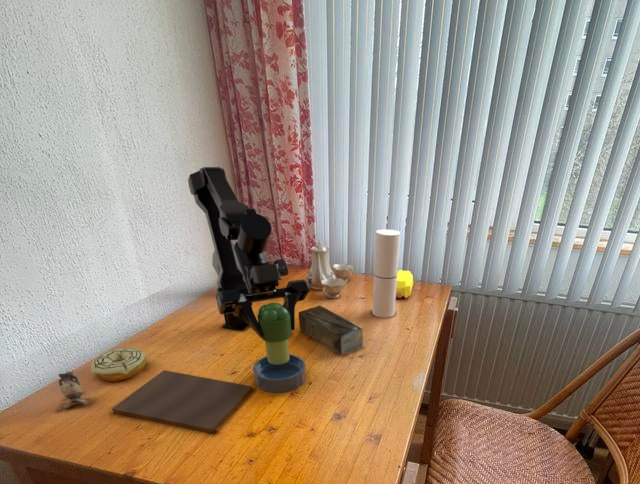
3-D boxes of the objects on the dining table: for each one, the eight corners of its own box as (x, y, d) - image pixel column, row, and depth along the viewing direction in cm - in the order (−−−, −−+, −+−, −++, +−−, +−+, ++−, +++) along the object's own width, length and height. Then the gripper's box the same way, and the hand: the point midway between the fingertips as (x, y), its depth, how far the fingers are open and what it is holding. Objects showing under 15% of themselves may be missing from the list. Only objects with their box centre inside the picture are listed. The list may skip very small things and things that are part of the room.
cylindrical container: (368, 314, 122) (371, 232, 108) (377, 306, 128) (381, 228, 114) (389, 319, 120) (395, 236, 106) (397, 311, 126) (404, 231, 112)
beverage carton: (340, 357, 99) (340, 334, 95) (298, 331, 110) (296, 309, 106) (363, 348, 104) (364, 325, 100) (320, 324, 115) (319, 303, 111)
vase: (64, 395, 80) (51, 370, 76) (95, 390, 82) (84, 366, 78) (57, 410, 76) (44, 385, 72) (90, 405, 78) (79, 380, 74)
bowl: (245, 389, 85) (243, 374, 83) (269, 364, 94) (267, 350, 92) (294, 398, 83) (292, 383, 81) (313, 372, 93) (312, 357, 90)
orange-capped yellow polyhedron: (387, 299, 134) (409, 302, 133) (388, 280, 130) (411, 283, 130) (393, 282, 149) (413, 284, 148) (395, 265, 145) (415, 267, 144)
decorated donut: (84, 383, 84) (78, 368, 82) (110, 358, 92) (104, 344, 90) (135, 383, 85) (129, 369, 82) (155, 358, 93) (151, 345, 91)
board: (113, 413, 76) (111, 408, 75) (165, 374, 88) (163, 369, 88) (214, 434, 73) (212, 429, 72) (253, 390, 85) (252, 386, 84)
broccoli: (257, 363, 83) (249, 307, 76) (271, 349, 89) (265, 295, 81) (286, 369, 82) (280, 312, 75) (298, 354, 88) (294, 299, 80)
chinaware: (346, 307, 130) (352, 258, 121) (297, 299, 129) (299, 249, 120) (353, 279, 153) (358, 237, 144) (312, 272, 152) (314, 229, 143)
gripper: (209, 250, 70) (236, 328, 69) (304, 241, 79) (329, 310, 78) (207, 278, 80) (231, 347, 79) (292, 267, 89) (314, 329, 88)
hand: (277, 333), depth 81 cm, fingers closed on broccoli, 6 cm apart
